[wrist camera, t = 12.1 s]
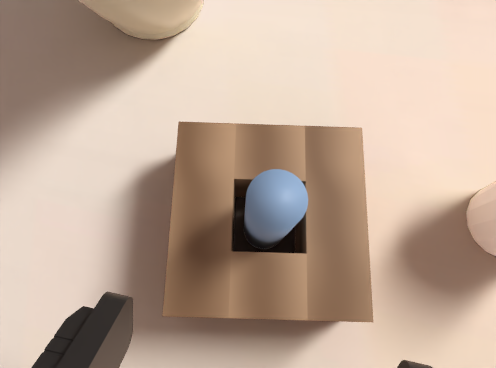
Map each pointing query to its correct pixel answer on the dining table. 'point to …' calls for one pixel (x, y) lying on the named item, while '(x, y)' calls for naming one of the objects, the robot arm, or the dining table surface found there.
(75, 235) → the dining table surface
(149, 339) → the dining table surface
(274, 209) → the peg
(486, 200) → the white cup
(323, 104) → the dining table surface
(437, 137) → the dining table surface
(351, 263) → the hole block
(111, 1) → the lamp
